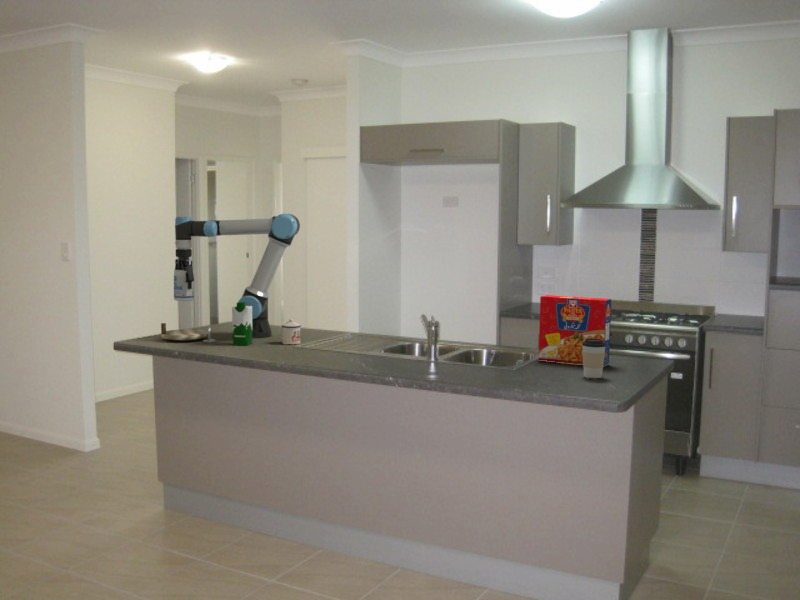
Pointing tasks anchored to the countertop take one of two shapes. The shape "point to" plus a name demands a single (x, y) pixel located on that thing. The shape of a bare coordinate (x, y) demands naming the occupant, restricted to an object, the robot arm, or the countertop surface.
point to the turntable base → (184, 340)
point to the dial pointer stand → (208, 335)
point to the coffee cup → (593, 357)
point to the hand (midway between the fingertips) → (184, 294)
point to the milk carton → (242, 324)
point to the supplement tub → (181, 286)
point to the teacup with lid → (291, 332)
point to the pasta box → (572, 326)
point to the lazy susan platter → (181, 333)
